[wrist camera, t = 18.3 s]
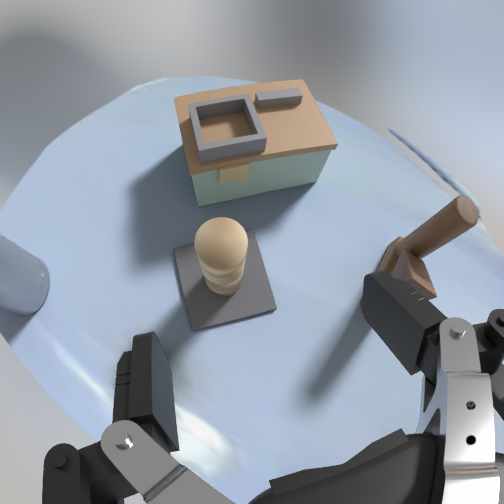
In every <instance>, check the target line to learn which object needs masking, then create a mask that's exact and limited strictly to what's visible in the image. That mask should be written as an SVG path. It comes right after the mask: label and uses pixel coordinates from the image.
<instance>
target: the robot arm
mask: <svg viewBox="0 0 504 504" xmlns="http://www.w3.org/2000/svg"><path fill="white" fill-rule="evenodd" d="M48 290H49V274H48V271H47V268H46V266H45V264H44V263H43V262H42V261H41V260H40V259H39V258H37V257H35V256H34V255H32V254H30V253H29V252H27V251H26V250H24V249H23V248H21V247H20V246H18V245H16V244H15V243H13V242H12V241H10V240H9V239H7V238H6V237H4V236H3V235H1V234H0V308H1V309H5V310H7V311H11V312H14V313H18V314H21V315H30V314H33V313H34V312H36V311H37V310H38V309H40V307H41V306H42V305H43V303H44V301H45V299H46V297H47V294H48ZM362 311H363V315H364V317H365V319H366V321H367V322H368V323H369V325H370V326H371V327H372V328H373V329H374V331H375V332H376V333H377V334H378V335H379V337H380V338H381V339H382V340H383V341H384V343H385V344H386V345H387V346H388V348H389V349H390V350H391V351H392V352H393V354H394V355H395V356H396V357H397V359H398V360H399V361H400V362H401V364H402V365H403V366H404V367H405V369H406V370H407V371H408V372H409V374H410V375H413V374H415V373H417V372H419V371H422V372H423V373H424V375H423V379H422V393H421V407H420V417H419V422H418V426H417V429H416V432H415V434H408V435H405V433H404V432H403V430H402V429H399V430H397V431H395V432H393V433H391V434H389V435H387V436H385V437H383V438H381V439H379V440H377V441H375V442H372V443H371V444H370V445H369V446H367V447H366V448H365V449H363V450H362V451H361V452H359V453H358V454H357V455H355V456H354V457H353V458H351V459H350V460H348V461H347V462H346V463H344V464H341V465H336V466H329V467H322V468H314V469H306V470H302V471H299V472H296V473H292V474H289V475H286V476H283V477H279V478H276V479H272V480H269V482H270V485H271V488H269V489H267V490H265V491H264V492H262V493H261V494H259V495H258V496H256V497H255V498H254V499H253V500H252V501H250V502H249V503H248V504H504V454H502V453H497V452H495V434H494V413H493V407H494V408H495V410H496V411H497V412H498V414H499V415H500V416H501V418H502V419H503V420H504V365H503V364H502V362H503V360H504V309H496V310H493V311H492V312H491V313H490V314H489V317H488V320H487V322H485V323H480V324H475V325H471V324H470V323H469V322H468V321H466V320H464V319H461V318H454V317H453V318H447V317H446V316H445V315H444V314H443V313H441V312H440V311H439V310H438V309H437V308H436V307H435V306H434V305H433V304H432V303H431V302H429V301H428V300H427V299H426V298H424V296H423V295H422V294H420V293H419V292H417V290H416V289H415V288H414V287H412V286H411V285H410V284H409V283H407V282H405V281H403V280H400V279H398V278H396V279H394V278H393V277H392V276H391V275H390V274H389V273H388V272H386V271H385V270H380V271H377V272H374V273H371V274H368V275H366V276H365V278H364V287H363V301H362ZM116 376H117V377H116V383H115V385H116V387H115V395H114V408H113V422H112V424H111V425H109V426H108V427H107V428H106V429H105V431H104V432H103V434H102V437H101V440H100V441H99V442H97V443H94V444H92V445H89V446H87V447H84V448H82V449H79V450H77V449H76V448H74V447H73V446H72V445H70V444H66V443H64V444H58V445H56V446H54V447H52V448H51V449H50V450H49V451H48V453H47V455H46V457H45V461H44V471H43V491H42V504H124V498H126V497H129V496H131V495H134V494H136V493H140V494H141V495H142V496H143V498H144V501H145V502H146V503H147V504H235V503H234V502H232V501H231V500H230V499H228V498H227V497H225V496H224V495H223V494H221V493H220V492H218V491H217V490H216V489H214V488H213V487H212V486H210V485H209V484H208V483H206V482H205V481H204V480H202V479H201V478H200V477H199V476H197V475H196V474H195V473H194V472H192V471H191V470H190V469H188V468H187V467H186V466H184V465H181V464H180V463H179V462H177V461H176V460H175V459H174V458H173V457H172V456H171V455H170V452H174V451H180V450H179V442H178V434H177V425H176V416H175V405H174V394H173V382H172V373H171V369H170V365H169V362H168V360H167V358H166V355H165V353H164V351H163V349H162V347H161V345H160V342H159V340H158V338H157V336H156V334H155V332H149V333H144V334H140V335H135V336H134V337H133V346H132V351H128V352H124V353H123V355H122V357H121V358H120V360H119V362H118V364H117V373H116Z"/></svg>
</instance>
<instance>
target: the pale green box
mask: <svg viewBox="0 0 504 504" xmlns="http://www.w3.org/2000/svg"><path fill="white" fill-rule="evenodd" d="M174 100H175V106H176V111H177V116H178V121H179V126H180V131H181V136H182V141H183V146H184V151H185V156H186V161H187V165H188V170H189V175H191V177H192V181H193V186H194V190H195V195H196V199H197V203H198V207H201V206H205V205H210V204H214V203H218V202H223V201H227V200H232V199H236V198H241V197H246V196H250V195H255V194H260V193H265V192H269V191H274V190H279V189H284V188H289V187H295V186H300V185H305V184H310V183H316V182H317V179H318V177H319V175H320V173H321V171H322V169H323V167H324V165H325V163H326V160H327V158H328V156H329V154H330V152H331V150H333V149H336V147H337V145H338V143H337V141H336V139H335V137H334V135H333V133H332V131H331V129H330V127H329V125H328V123H327V122H326V120H325V118H324V116H323V114H322V112H321V111H320V109H319V107H318V105H317V103H316V102H315V100H314V98H313V96H312V95H311V93H310V91H309V90H308V88H307V86H306V84H305V83H304V81H303V80H290V81H289V80H288V81H277V82H267V83H258V84H250V85H242V86H235V87H228V88H222V89H216V90H210V91H204V92H199V93H194V94H189V95H184V96H179V97H175V98H174Z"/></svg>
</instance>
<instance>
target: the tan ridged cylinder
mask: <svg viewBox="0 0 504 504" xmlns="http://www.w3.org/2000/svg"><path fill="white" fill-rule="evenodd" d="M194 245H195V250H196V253H197V256H198V259H199V262H200V265H201V268H202V271H203V274H204V277H205V280H206V283H207V286H208V288H209V290H210V291H211V292H212V293H214V294H215V295H217V296H221V297H227V296H231V295H233V294H234V293H236V292H237V291H238V289H239V288H240V286H241V283H242V277H243V271H244V265H245V259H246V252H247V246H248V238H247V234H246V232H245V230H244V228H243V227H242V226H241V225H240V224H239V223H238V222H236V221H235V220H233V219H230V218H226V217H217V218H213V219H210V220H208V221H206V222H205V223H204V224H202V225H201V226H200V228H199V229H198V231H197V233H196V235H195V240H194Z"/></svg>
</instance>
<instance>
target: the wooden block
mask: <svg viewBox="0 0 504 504" xmlns="http://www.w3.org/2000/svg"><path fill="white" fill-rule="evenodd" d="M477 221H478V211H477V208H476V206H475V204H474V203H473V202H472V200H471V199H469V198H468V197H466V196H458V197H456V198H455V199H454V200H453V201H451V202H450V203H449V204H448V205H446V206H445V207H444V208H443V209H441V210H440V211H439V212H438V213H436V214H435V215H434V216H433V217H431V218H430V219H429V220H427V221H426V222H425V223H424V224H422V225H421V226H420V227H418V228H417V229H416V230H414V231H413V232H412V233H411V234H409V235H408V236H407V237H405V238H402V237H400V236H399V237H398V238H397V239H396V240H394V241H393V242H392V243H390V244H389V246H388V248H387V250H386V252H385V254H384V257H383V259H382V261H381V263H380V265H379V267H378V269H377V271H380V270H385V271H386V272H388V273H389V274H390V275H391V276H392V277H393V278H394V279H396V278H398V279H400V280H403V281H405V282H407V283H409V284H410V285H411V286H412V287H414V288H415V289H416V290H417V292H419V293H420V294H422V295H423V296H424V298H426V299H427V300H430V299H433V298H436V297H437V295H436V292H435V289H434V287H433V284H432V281H431V279H430V276H429V274H428V271H427V269H426V266H425V264H424V262H423V261H422V260H421V258H423V257H425V256H427V255H428V254H430V253H432V252H433V251H435V250H437V249H438V248H440V247H442V246H443V245H445V244H447V243H448V242H450V241H451V240H453V239H455V238H456V237H458V236H459V235H461V234H463V233H464V232H466V231H467V230H469V229H470V228H472V227H474V226H475V225H476V223H477ZM377 271H376V272H377ZM362 301H363V298H362V300H361V305H362Z"/></svg>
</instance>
